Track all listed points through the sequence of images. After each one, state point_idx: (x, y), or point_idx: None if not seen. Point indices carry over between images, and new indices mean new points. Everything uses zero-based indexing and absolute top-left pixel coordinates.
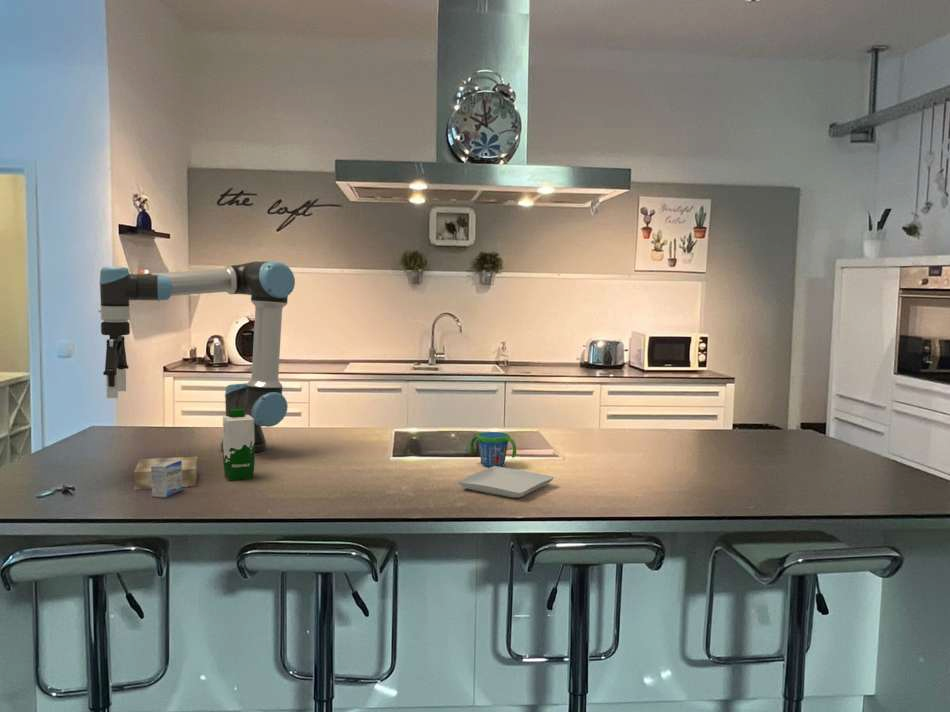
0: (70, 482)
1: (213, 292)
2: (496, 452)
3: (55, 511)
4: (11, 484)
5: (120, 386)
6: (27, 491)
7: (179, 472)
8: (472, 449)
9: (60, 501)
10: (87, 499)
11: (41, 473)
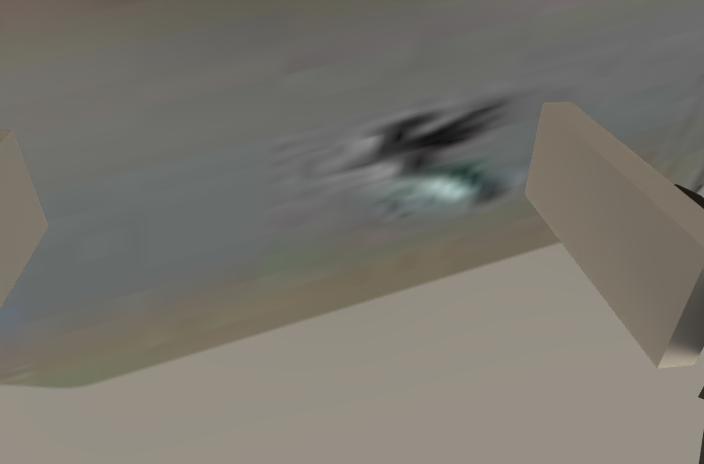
0: (313, 158)
1: None
2: None
3: (682, 102)
4: (312, 309)
5: (11, 213)
6: (409, 246)
7: None
8: None
9: None
10: (578, 37)
11: (170, 280)
